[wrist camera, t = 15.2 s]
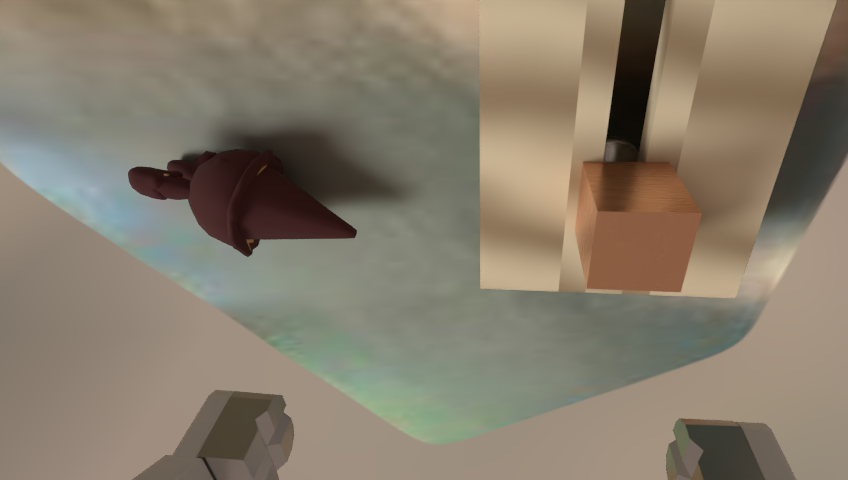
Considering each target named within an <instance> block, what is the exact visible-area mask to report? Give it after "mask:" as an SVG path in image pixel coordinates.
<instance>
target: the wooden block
mask: <svg viewBox="0 0 848 480" xmlns="http://www.w3.org/2000/svg"><path fill="white" fill-rule="evenodd" d="M638 155H639V152H638V151H637V149H636V147H635V146H634V145H633V144H632V143H631V142H629V141H628V140H626V139H624V138H621V137H617V136H606V144H605V151H604V158H603V162H583V163H582V172H581V181H580V189H579V198H578V207H577V215H576V224H575V235H576V240H577V245H578V250H579V255H580V259H581V264H582V269H583V274H584V279H585V284H586V289H607V290H633V291H659V292H681V290H682V286H683V282H684V278H685V275H686V271H687V267H688V263H689V260H690V256H691V252H692V248H693V245H694V241H695V237H696V233H697V230H698V226H699V222H700V218H701V215H702V212H701V211H700V209H699V208H698V206H697V205H696V203H695V202H694V200H693V198H692V197H691V195H690V194H689V192H688V191H687V189H686V188H685V186H684V185H683V183H682V181H681V180H680V178H679V177H678V175H677V174H676V172H675V171H674V169H673V168H672V166H671V164H670V163H669V162H637V161H638Z"/></svg>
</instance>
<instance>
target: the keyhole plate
mask: <svg viewBox="0 0 848 480" xmlns="http://www.w3.org/2000/svg"><path fill="white" fill-rule="evenodd" d="M836 2H837V0H666V2H665V7H664V13H663V19H662V24H661V30H660V36H659V42H658V47H657V53H656V59H655V64H654V70H653V76H652V81H651V87H650V93H649V99H648V104H647V110H646V116H645V121H644V127H643V133H642V138H641V144H640V150H639V155H638V161H637V162H669V163H670V164H671V166H672V168H673V169H674V171H675V172H676V174H677V175H678V177H679V178H680V180H681V181H682V183H683V185H684V186H685V188H686V189H687V191H688V192H689V194H690V195H691V197H692V198H693V200H694V202H695V203H696V205H697V206H698V208H699V209H700V211H701V212H702V215H701V218H700V222H699V226H698V230H697V233H696V237H695V241H694V245H693V248H692V252H691V256H690V260H689V263H688V267H687V271H686V275H685V278H684V282H683V286H682V290H681V292H659V291H633V290H607V289H586V284H585V279H584V274H583V269H582V264H581V259H580V255H579V250H578V245H577V240H576V235H575V224H576V215H577V207H578V198H579V189H580V181H581V172H582V163H583V162H603V158H604V151H605V144H606V136H607V129H608V122H609V114H610V107H611V100H612V92H613V85H614V78H615V71H616V63H617V56H618V49H619V41H620V34H621V27H622V19H623V12H624V5H625V0H479V46H480V288H482V289H508V290H534V291H561V292H587V293H614V294H640V295H666V296H693V297H719V298H736V296H737V293H738V290H739V287H740V284H741V281H742V278H743V275H744V272H745V269H746V267H747V264H748V261H749V258H750V255H751V252H752V249H753V246H754V243H755V240H756V237H757V234H758V231H759V228H760V225H761V222H762V220H763V217H764V214H765V211H766V208H767V205H768V202H769V199H770V196H771V193H772V190H773V187H774V184H775V181H776V178H777V175H778V173H779V170H780V167H781V164H782V161H783V158H784V155H785V152H786V149H787V146H788V143H789V140H790V137H791V134H792V131H793V128H794V126H795V123H796V120H797V117H798V114H799V111H800V108H801V105H802V102H803V99H804V96H805V93H806V90H807V87H808V84H809V81H810V79H811V76H812V73H813V70H814V67H815V64H816V61H817V58H818V55H819V52H820V49H821V46H822V43H823V40H824V37H825V34H826V32H827V29H828V26H829V23H830V20H831V17H832V14H833V11H834V8H835V5H836Z"/></svg>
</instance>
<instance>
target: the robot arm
mask: <svg viewBox="0 0 848 480" xmlns="http://www.w3.org/2000/svg"><path fill="white" fill-rule="evenodd" d="M285 407H286V404H285V401H284V399H283V396H282V395H273V394H261V393H249V392H238V391H224V390H215V391H214V392H213V393H211V394H210V395H209V396H208V398H207V399H206V401H205V403H204V404H203V406H202V407H201V409H200V411H199V412H198V414H197V416H196V417H195V419H194V420H193V422H192V424H191V426H190V427H189V429H188V430H187V432H186V434H185V435H184V437H183V439H182V440H181V442H180V443H179V445H178V447H177V448H176V450H175V452H174V453H173V455H165V456H164V457H163V458H161V459H160V460H158V461H157V462H156V463H154V464H153V465H152V466H150V467H149V468H147V469H146V470H145V471H143V472H142V473H141V474H139V475H138V476H136V477H135V478H134V479H132V480H279V477H278V474H277V470H278V469H279V468H280V467H281V466H283V465H284V464H285V463H286V462H287V461H288V458H289V455H290V453H291V450H292V445H293V439H294V428H293V423H292V420H291V418H290V417H289V416H288V415H286V414H285V413H284V412H283V411H284V409H285ZM673 431H674V435H675V438H676V440H675V441H673V442H672V443H670V444H669V446H668V450H667V454H666V471H667V477H668V480H796V478H795V476H794V474H793V472H792V470H791V468H790V466H789V464H788V462H787V460H786V458H785V456H784V454H783V452H782V450H781V448H780V446H779V444H778V442H777V440H776V438H775V436H774V434H773V432H772V430H771V429H770V428H769V427H768V426H767V425H766V424H763V423H746V422H745V423H744V422H733V421H721V420H700V419H678V420H677V421H676V423H675V426H674V429H673Z"/></svg>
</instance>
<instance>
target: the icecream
mask: <svg viewBox="0 0 848 480" xmlns="http://www.w3.org/2000/svg"><path fill="white" fill-rule="evenodd" d="M167 169H168V171H166V170H160V169H155V168H151V167H135V168H132V169H131V170H129V172H128V177H129V182H130V184H131V186H132V188H133V189H135V190H136V191H137V192H138V193H140V194H142V195H145V196H148V197H151V198H155V199H161V200H166V199H167V198H169V199H175V200H181V199H188V201H189V204H190V207H191V209H192V212H193V214H194V216H195V218H196V220H197V222H198V224H199V225H200V226H201V227H202V228H203V229H204V230H205V231H206V232H207V233H208V235H210V236H212V237H214V238H216V239H218V240H220V241H222V242H224V243H226V244H228V245H230V246H232V247H233V248H235V249H237V250H238V251H240V252H241V253H242V254H244V255H245V256H247V257H249V256H250V255H251V254H252V251H253V249H254V248H256V247H257V246H258V244H259V241H260V239H338V238H355V236H356V233H357V230H356V229H354V228H353V227H352V226H351V225H349V224H348V223H347V222H345V221H344V220H342V219H341V218H340V217H338V216H337V215H336V214H334V213H333V212H331V211H330V210H329V209H327V208H326V207H325V206H323V205H322V204H321V203H319V202H318V201H317V200H315V199H314V198H313V197H311V196H310V195H309V194H307V193H306V192H305V191H303V190H302V189H301V188H299V187H298V186H297V185H295V184H294V183H293V182H291V181H290V180H289V179H287V178H286V177H285V176H283V175H282V172H283V167H282V164H281V162H280V160H279V159H278V158H277V157H276V156H274V154H273V152H272V150H268V151H266V152H265V153H263V154H261V153H259V152H255V151H246V150H238V149H235V150H229V151H224V152H220V153H219V154H216V153H213V152H208V151H206V152H205V153H204V154H202V155H201V156H200V157H199V158H198V159H197V160H196V162H195V163H193V162H189V161H184V160H172V161H170V162H169V163H168V165H167Z"/></svg>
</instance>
